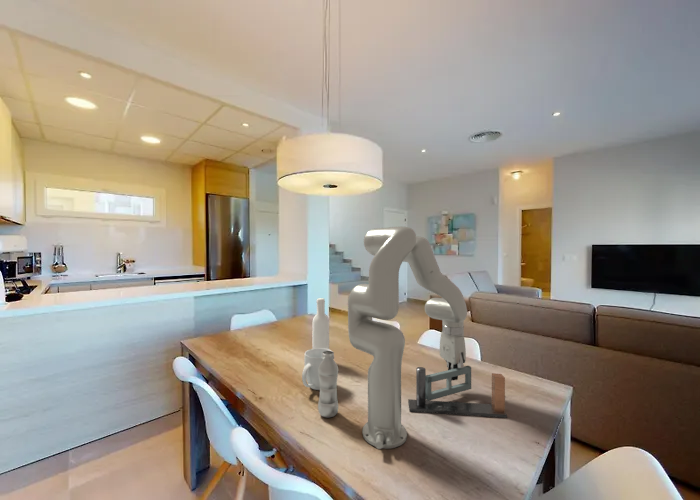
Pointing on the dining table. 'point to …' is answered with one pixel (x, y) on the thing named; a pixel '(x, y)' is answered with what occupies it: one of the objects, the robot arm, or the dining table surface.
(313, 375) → the mug
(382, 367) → the robot arm
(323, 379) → the plastic bottle
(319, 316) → the bottle
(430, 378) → the gate
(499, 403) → the gate frame
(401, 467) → the dining table surface
